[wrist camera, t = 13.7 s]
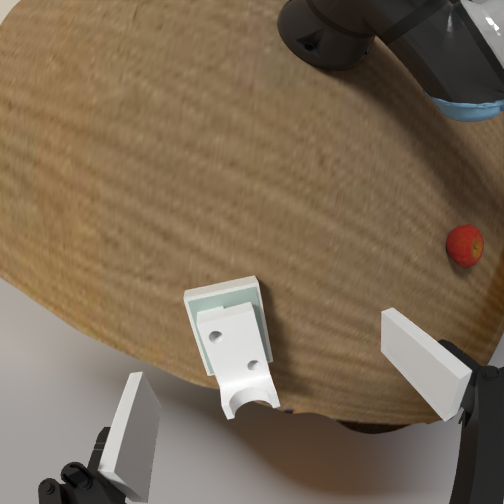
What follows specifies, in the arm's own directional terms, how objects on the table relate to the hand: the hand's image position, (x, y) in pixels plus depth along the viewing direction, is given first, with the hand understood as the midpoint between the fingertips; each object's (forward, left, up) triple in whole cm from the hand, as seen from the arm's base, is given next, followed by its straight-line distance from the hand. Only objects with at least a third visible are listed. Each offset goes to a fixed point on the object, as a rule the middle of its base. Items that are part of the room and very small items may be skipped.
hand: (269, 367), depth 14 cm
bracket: (+2, +12, -23) cm, 26 cm away
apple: (-42, +6, -26) cm, 50 cm away
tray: (+2, +10, -26) cm, 28 cm away
